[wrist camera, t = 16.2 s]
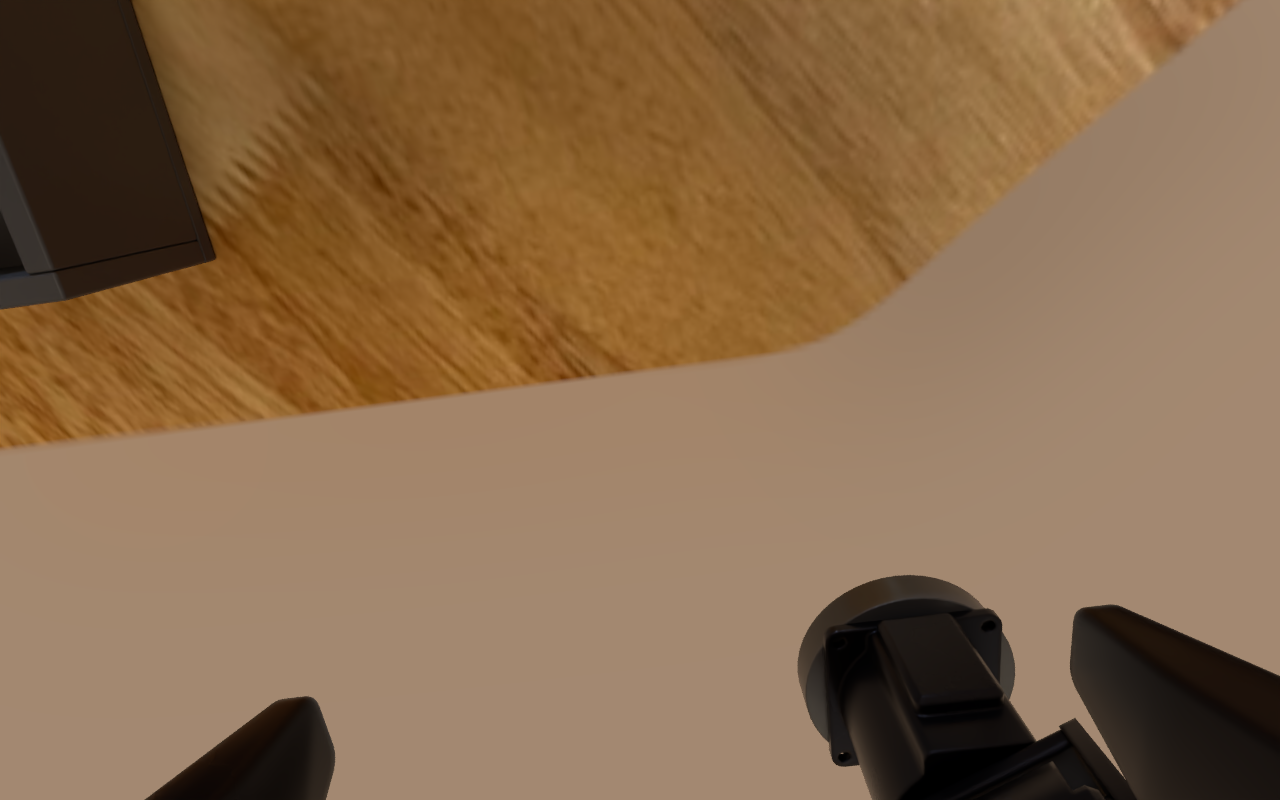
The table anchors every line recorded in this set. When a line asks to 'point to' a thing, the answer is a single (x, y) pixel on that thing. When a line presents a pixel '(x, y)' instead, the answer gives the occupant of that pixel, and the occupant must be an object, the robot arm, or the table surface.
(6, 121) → the open storage box
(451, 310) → the table surface
